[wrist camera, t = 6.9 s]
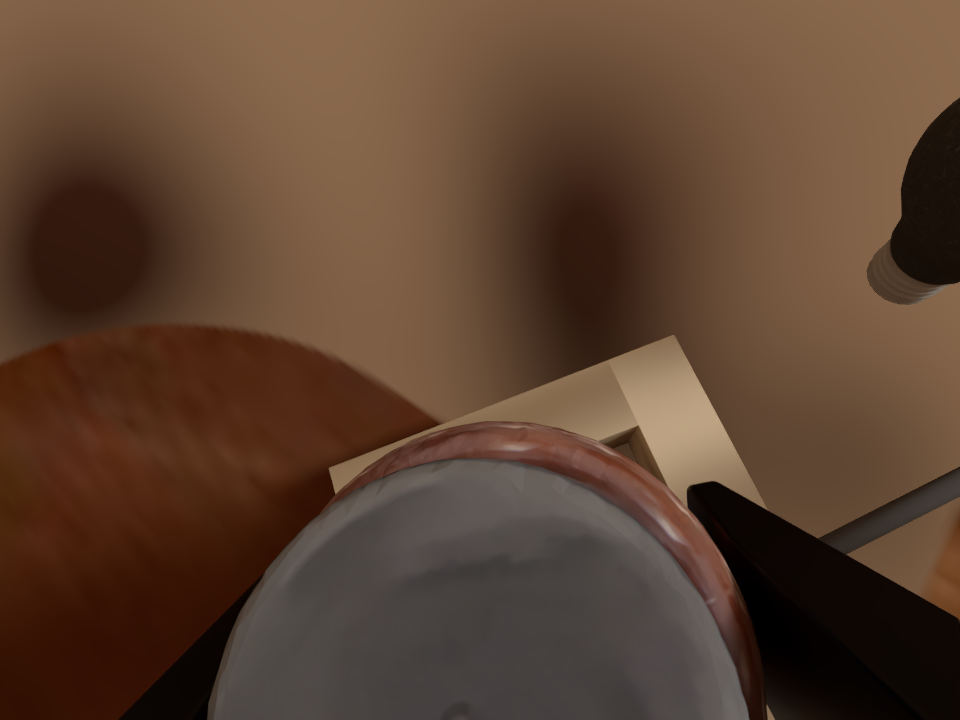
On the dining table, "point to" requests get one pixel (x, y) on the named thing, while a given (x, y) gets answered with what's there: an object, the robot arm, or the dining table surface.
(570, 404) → the cream square shallow tray
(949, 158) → the light bulb
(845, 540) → the dark grey rod
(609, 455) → the supplement bottle
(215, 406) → the dining table surface
